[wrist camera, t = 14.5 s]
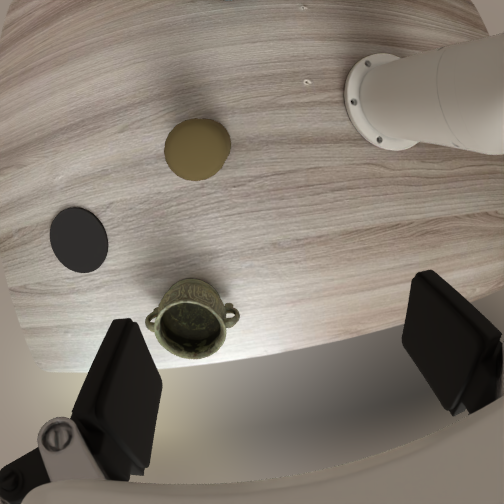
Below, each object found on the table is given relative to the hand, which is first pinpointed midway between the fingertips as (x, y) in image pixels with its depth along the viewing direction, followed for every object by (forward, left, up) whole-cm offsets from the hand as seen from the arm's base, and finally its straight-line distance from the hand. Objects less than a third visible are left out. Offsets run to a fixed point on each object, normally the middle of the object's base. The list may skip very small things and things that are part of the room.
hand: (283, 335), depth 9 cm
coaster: (+22, +2, -27) cm, 35 cm away
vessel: (+9, +14, -27) cm, 32 cm away
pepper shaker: (+3, -5, -27) cm, 28 cm away
